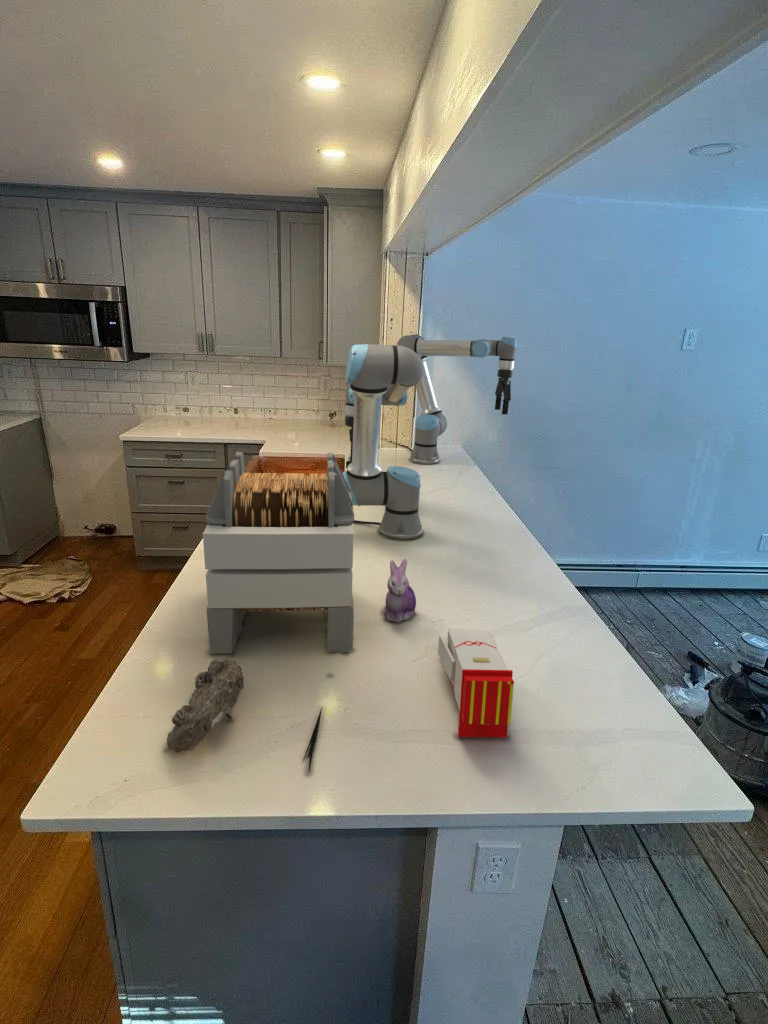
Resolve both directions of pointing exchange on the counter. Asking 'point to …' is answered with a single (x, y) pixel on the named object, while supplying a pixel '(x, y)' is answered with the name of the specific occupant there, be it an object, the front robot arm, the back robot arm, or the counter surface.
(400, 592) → the figurine
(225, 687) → the fossil
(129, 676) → the counter surface
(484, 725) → the toy
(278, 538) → the grey box with legs
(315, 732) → the feather
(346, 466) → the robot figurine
